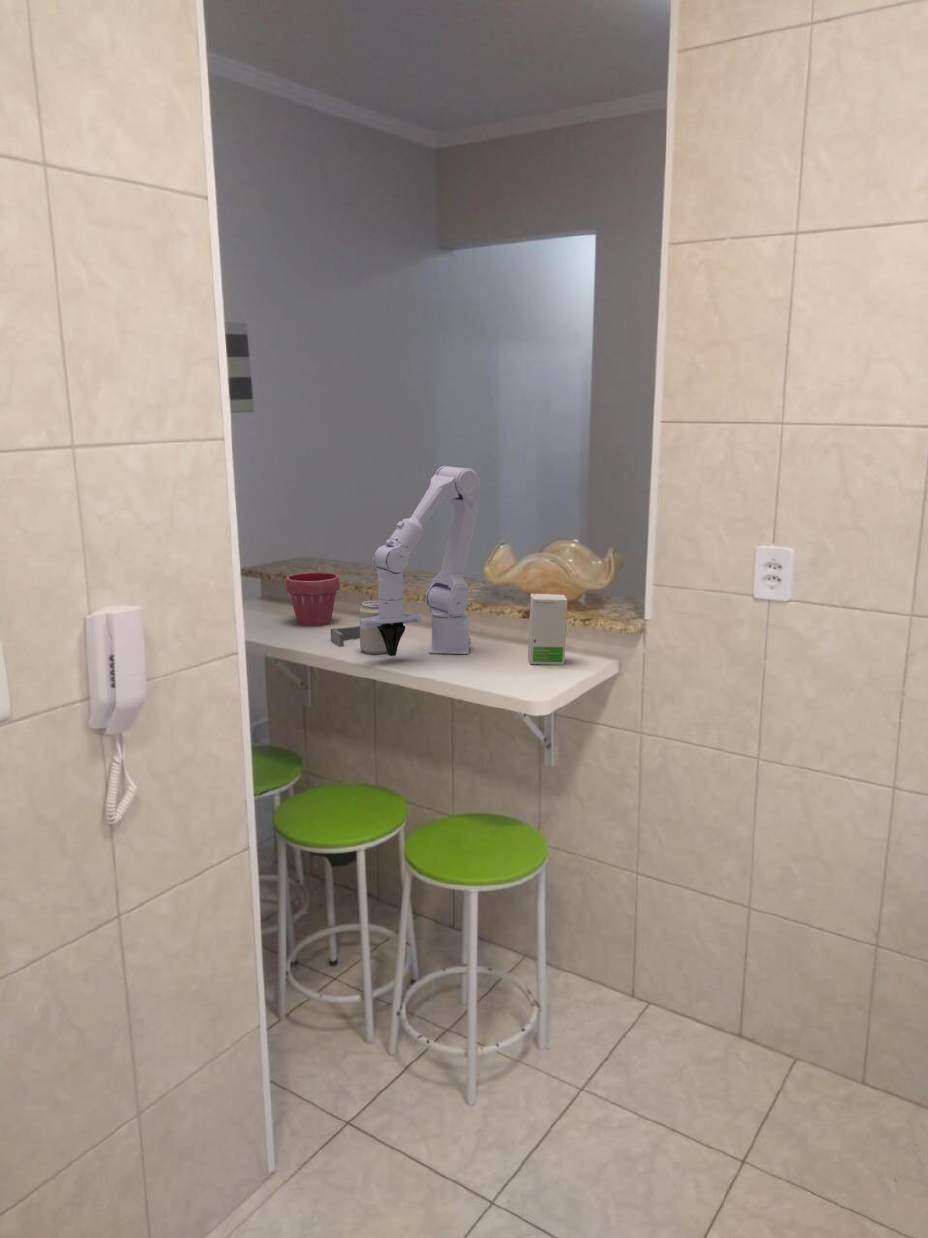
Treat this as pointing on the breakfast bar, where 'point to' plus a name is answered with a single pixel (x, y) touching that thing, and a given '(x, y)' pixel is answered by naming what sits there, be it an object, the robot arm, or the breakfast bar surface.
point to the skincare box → (547, 629)
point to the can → (371, 630)
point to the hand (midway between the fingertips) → (391, 655)
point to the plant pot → (313, 596)
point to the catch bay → (344, 634)
